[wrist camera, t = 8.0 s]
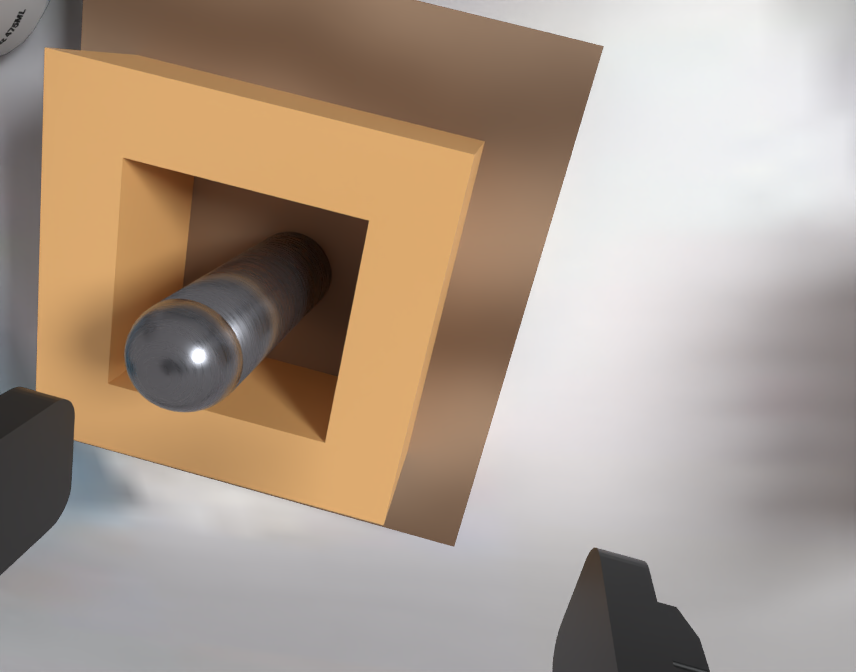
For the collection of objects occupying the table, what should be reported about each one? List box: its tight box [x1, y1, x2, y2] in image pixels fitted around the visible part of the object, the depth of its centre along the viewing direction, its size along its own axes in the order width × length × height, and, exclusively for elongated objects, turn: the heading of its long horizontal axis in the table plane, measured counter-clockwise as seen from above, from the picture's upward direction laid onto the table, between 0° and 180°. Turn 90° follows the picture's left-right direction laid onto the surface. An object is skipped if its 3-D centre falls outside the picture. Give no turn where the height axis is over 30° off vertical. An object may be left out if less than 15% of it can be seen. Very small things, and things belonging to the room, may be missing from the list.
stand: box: [75, 0, 604, 546], centre depth 18 cm, size 16×14×10 cm
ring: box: [36, 47, 485, 525], centre depth 19 cm, size 10×10×4 cm
